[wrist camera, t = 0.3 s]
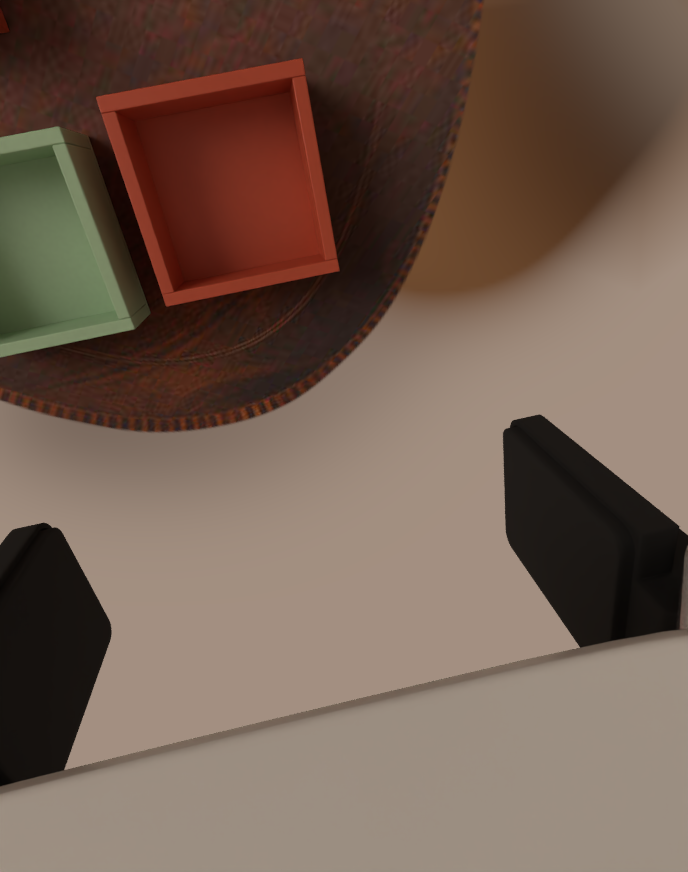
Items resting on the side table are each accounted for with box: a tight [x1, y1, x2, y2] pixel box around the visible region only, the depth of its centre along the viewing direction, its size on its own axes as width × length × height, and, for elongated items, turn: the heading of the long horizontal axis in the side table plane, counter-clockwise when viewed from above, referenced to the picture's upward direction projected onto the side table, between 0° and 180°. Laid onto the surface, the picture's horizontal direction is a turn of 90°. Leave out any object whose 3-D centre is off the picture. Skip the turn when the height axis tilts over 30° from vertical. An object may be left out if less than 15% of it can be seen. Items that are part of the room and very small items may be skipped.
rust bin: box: [96, 58, 339, 307], centre depth 32 cm, size 12×12×5 cm
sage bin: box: [0, 127, 151, 357], centre depth 32 cm, size 12×12×5 cm
